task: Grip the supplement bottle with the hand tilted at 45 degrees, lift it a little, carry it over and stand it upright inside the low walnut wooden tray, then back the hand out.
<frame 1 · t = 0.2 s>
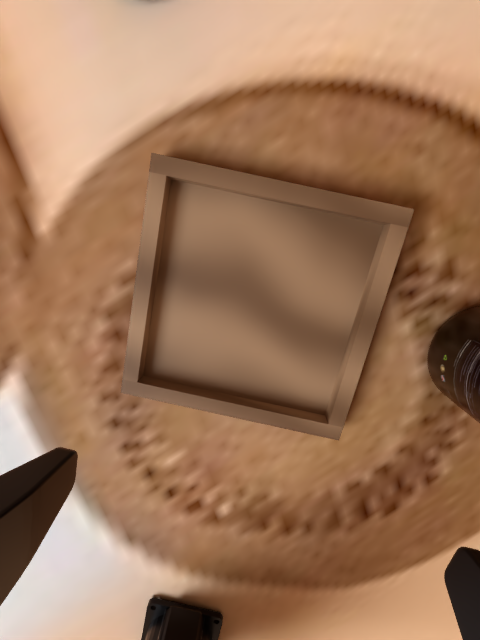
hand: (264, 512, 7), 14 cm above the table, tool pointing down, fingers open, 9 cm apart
tray: (254, 305, 21), on the table
supplement bottle: (473, 352, 21), on the table
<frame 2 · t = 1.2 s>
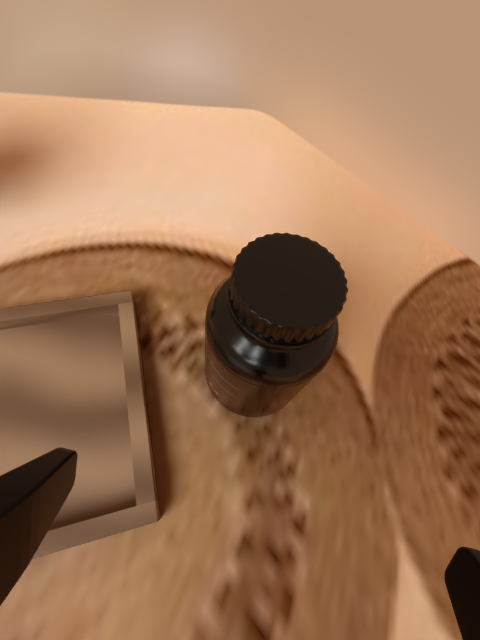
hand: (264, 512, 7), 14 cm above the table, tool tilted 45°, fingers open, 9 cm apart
tray: (23, 419, 20), on the table
supplement bottle: (249, 372, 23), on the table
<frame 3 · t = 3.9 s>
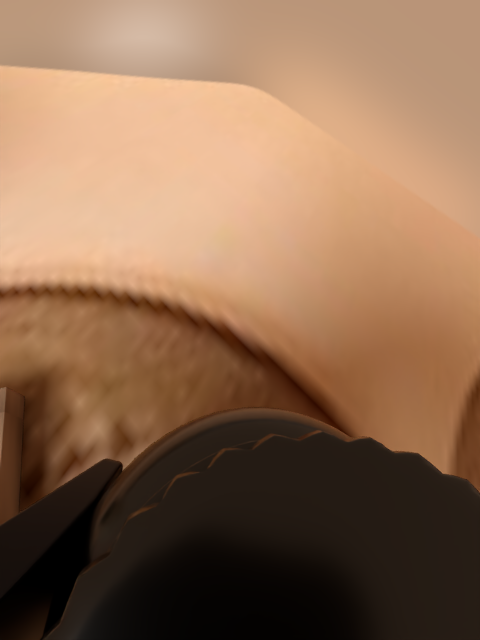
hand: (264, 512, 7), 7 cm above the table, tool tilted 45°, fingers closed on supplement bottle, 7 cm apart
supplement bottle: (226, 539, 12), on the table, touching gripper
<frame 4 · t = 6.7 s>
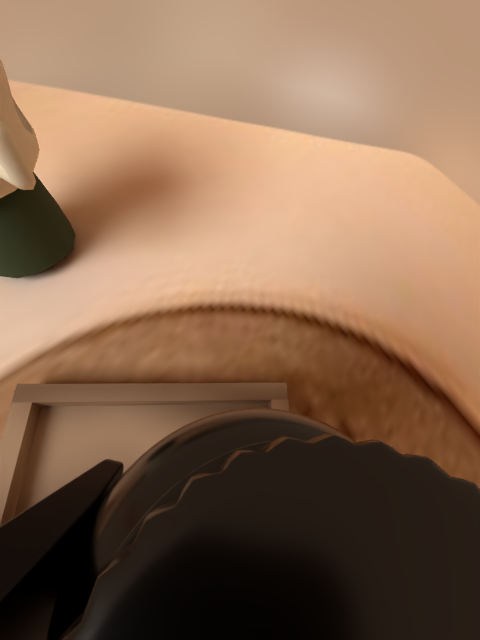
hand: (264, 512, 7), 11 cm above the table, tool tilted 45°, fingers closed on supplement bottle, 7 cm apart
tray: (150, 537, 16), on the table
supplement bottle: (223, 537, 13), point 4 cm above the table, touching gripper
character mug: (33, 249, 23), on the table
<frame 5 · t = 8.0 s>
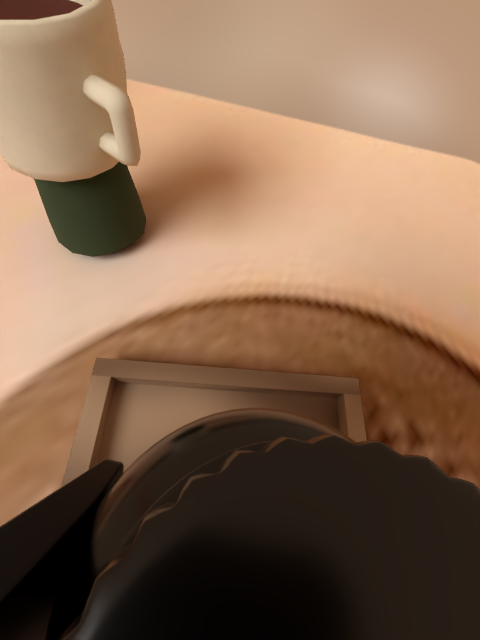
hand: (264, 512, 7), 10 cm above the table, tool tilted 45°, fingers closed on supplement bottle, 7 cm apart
tray: (221, 521, 16), on the table
supplement bottle: (222, 537, 13), point 3 cm above the table, touching gripper
character mug: (104, 230, 23), on the table
when the fingers open (8 cm above the table, at t = 9.2 s): supplement bottle stays where it is, resting on tray.
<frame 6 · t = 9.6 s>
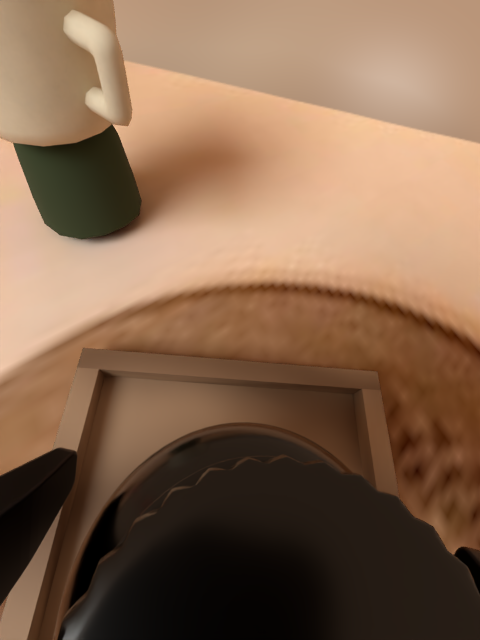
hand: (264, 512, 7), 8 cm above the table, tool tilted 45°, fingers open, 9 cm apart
tray: (224, 534, 14), on the table
supplement bottle: (220, 539, 13), resting on tray
character mug: (96, 213, 21), on the table
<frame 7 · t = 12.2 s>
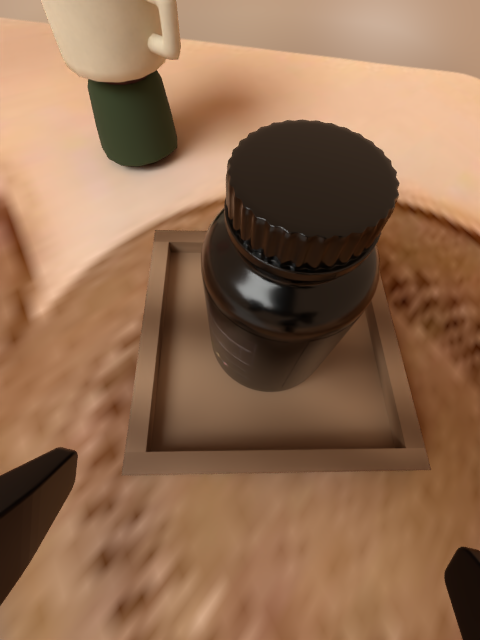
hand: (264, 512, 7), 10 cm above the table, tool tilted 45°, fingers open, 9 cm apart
tray: (267, 340, 20), on the table
supplement bottle: (264, 341, 19), resting on tray
character mug: (142, 151, 27), on the table
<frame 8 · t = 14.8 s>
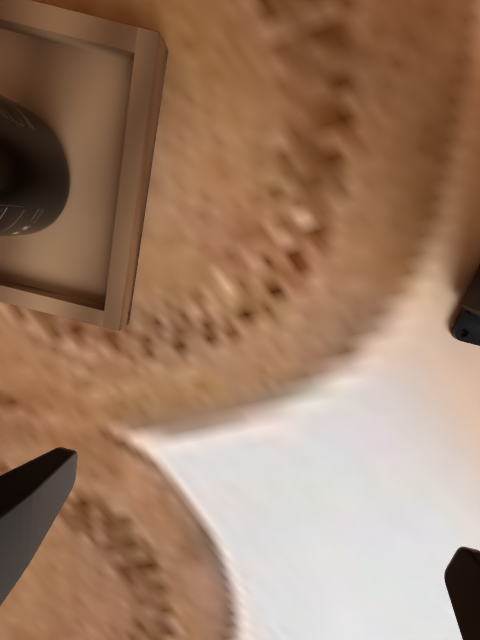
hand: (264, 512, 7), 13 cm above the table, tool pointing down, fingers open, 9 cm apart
tray: (19, 171, 18), on the table
supplement bottle: (19, 175, 18), resting on tray
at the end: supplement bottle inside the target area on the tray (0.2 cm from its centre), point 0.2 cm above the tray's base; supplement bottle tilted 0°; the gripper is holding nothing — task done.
